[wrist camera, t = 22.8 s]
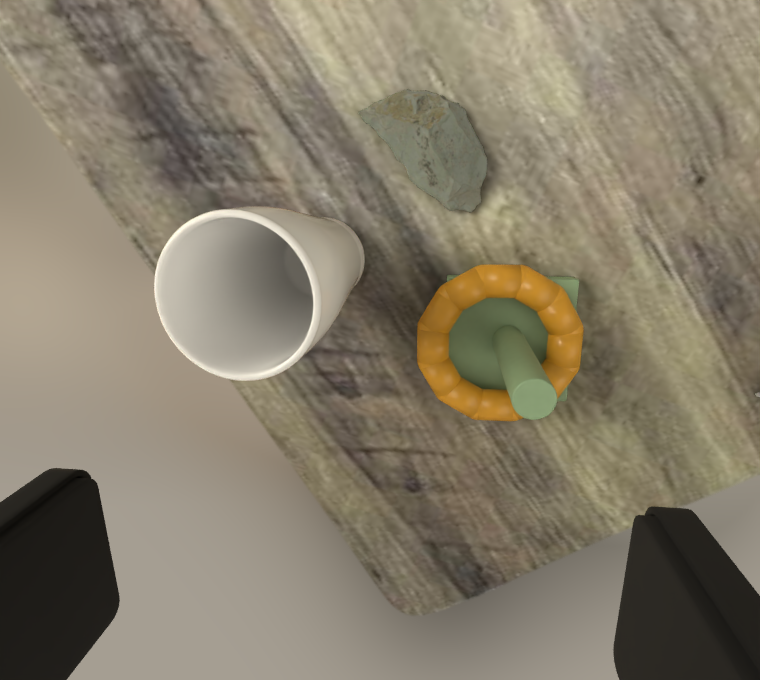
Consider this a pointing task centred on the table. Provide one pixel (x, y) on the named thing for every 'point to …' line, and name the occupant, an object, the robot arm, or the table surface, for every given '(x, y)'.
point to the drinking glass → (254, 287)
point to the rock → (432, 145)
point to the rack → (508, 350)
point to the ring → (496, 284)
